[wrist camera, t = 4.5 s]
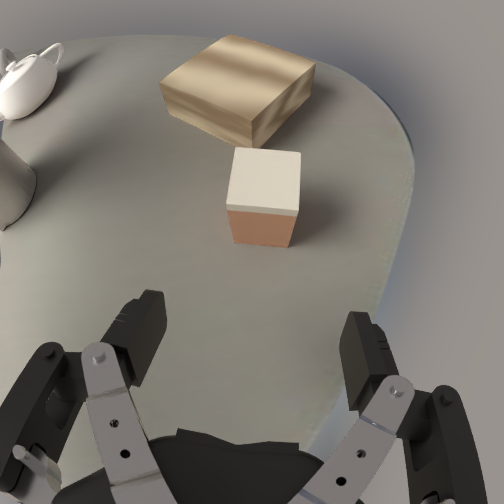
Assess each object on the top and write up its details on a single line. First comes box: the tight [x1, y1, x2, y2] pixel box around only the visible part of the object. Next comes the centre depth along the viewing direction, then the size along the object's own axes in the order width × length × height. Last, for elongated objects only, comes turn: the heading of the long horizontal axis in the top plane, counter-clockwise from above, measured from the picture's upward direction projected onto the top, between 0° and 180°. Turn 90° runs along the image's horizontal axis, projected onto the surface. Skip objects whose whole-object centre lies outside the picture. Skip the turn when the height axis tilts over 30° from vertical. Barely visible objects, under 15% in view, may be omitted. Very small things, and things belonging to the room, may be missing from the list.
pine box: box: [159, 34, 316, 149], centre depth 31 cm, size 13×13×6 cm
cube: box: [226, 147, 301, 248], centre depth 24 cm, size 5×5×8 cm
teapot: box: [0, 43, 64, 121], centre depth 32 cm, size 22×14×11 cm, turn 140°
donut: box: [0, 48, 17, 76], centre depth 39 cm, size 10×4×10 cm, turn 28°
